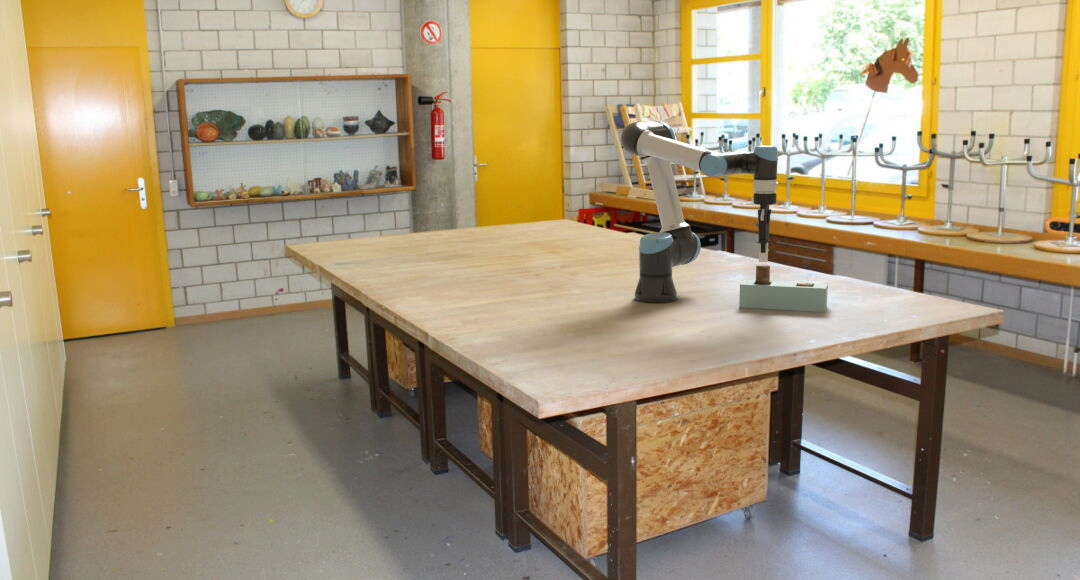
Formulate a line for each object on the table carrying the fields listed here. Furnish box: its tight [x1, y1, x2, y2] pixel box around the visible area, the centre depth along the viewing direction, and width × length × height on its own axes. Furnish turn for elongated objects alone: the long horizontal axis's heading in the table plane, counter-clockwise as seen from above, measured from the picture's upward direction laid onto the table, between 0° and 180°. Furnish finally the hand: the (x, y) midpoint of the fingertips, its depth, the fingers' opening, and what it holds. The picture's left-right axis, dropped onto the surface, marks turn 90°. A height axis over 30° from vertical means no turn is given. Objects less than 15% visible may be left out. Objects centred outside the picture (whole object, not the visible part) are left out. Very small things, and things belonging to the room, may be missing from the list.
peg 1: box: [755, 264, 771, 285], centre depth 305 cm, size 5×5×8 cm
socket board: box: [738, 279, 829, 313], centre depth 304 cm, size 28×9×8 cm, turn 69°
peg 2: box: [798, 282, 812, 287], centre depth 301 cm, size 5×5×8 cm
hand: (763, 261), depth 304 cm, fingers closed
